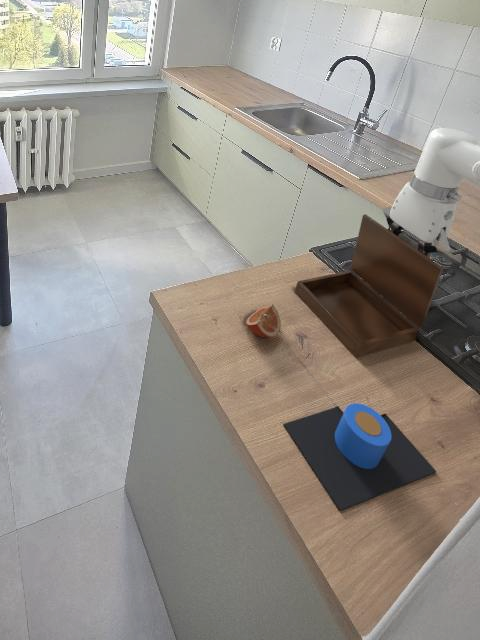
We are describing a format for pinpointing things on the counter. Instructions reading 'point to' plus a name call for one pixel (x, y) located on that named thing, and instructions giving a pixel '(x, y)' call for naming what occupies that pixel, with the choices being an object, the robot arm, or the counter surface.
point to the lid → (396, 269)
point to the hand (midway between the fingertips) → (402, 254)
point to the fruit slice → (265, 322)
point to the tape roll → (362, 435)
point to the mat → (344, 476)
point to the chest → (356, 313)
